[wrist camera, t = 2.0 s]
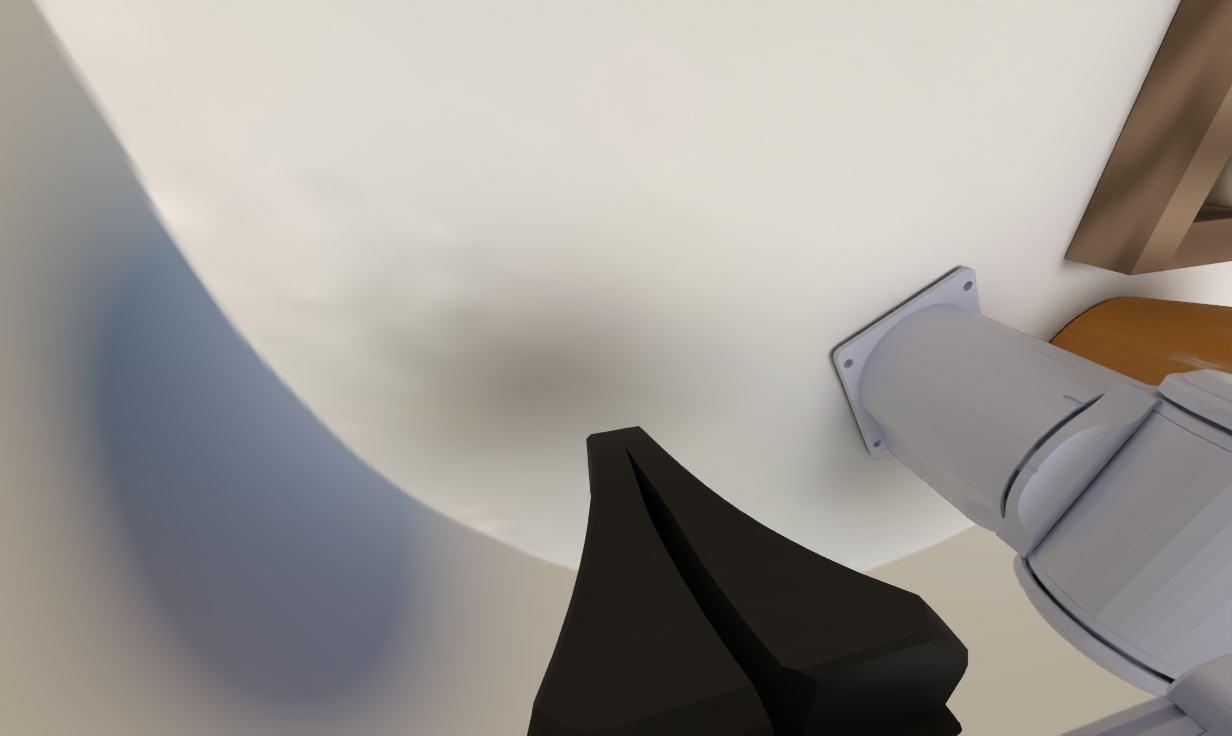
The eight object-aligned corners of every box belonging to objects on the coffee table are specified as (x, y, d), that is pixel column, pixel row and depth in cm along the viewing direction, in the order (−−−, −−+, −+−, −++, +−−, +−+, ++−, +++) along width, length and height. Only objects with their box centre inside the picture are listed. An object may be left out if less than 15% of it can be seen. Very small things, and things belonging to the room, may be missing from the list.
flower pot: (960, 369, 28) (1279, 544, 17) (1184, 195, 25) (1725, 265, 14) (1009, 479, 35) (1254, 652, 24) (1186, 352, 33) (1547, 479, 22)
